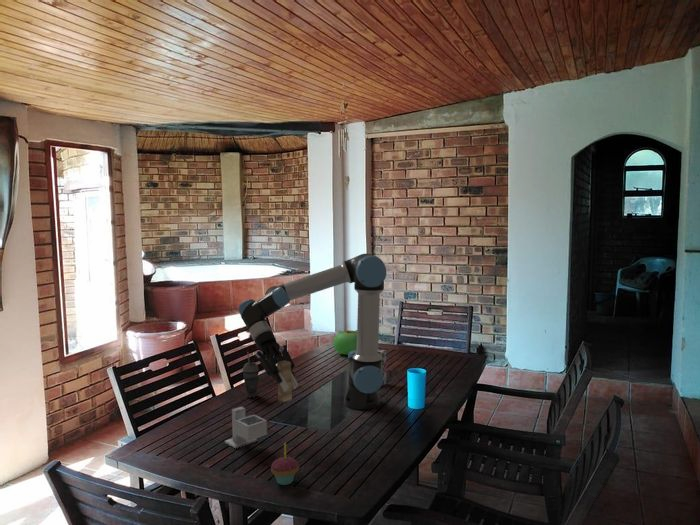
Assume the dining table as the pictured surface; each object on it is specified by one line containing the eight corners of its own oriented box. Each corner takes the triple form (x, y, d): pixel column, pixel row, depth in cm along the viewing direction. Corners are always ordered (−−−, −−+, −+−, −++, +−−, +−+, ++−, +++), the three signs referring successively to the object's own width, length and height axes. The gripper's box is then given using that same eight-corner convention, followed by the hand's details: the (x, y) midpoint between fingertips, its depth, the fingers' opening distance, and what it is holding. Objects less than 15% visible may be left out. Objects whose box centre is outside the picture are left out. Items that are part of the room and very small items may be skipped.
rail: (278, 399, 193) (277, 362, 191) (286, 397, 195) (284, 360, 194) (284, 402, 190) (283, 364, 189) (292, 399, 193) (290, 362, 191)
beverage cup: (255, 399, 232) (255, 354, 230) (240, 398, 233) (239, 354, 231) (262, 393, 239) (261, 350, 237) (246, 392, 240) (245, 349, 239)
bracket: (224, 442, 188) (223, 410, 187) (246, 435, 194) (245, 403, 193) (247, 456, 178) (246, 421, 177) (269, 447, 184) (268, 414, 183)
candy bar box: (386, 383, 253) (386, 349, 251) (383, 386, 248) (383, 352, 247) (364, 380, 257) (364, 347, 255) (361, 383, 252) (361, 350, 251)
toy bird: (331, 357, 299) (330, 331, 297) (336, 349, 315) (336, 325, 314) (362, 358, 296) (362, 333, 294) (366, 351, 312) (366, 326, 311)
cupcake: (272, 475, 165) (271, 437, 164) (299, 473, 166) (299, 436, 164) (270, 489, 156) (269, 450, 155) (299, 487, 157) (298, 448, 156)
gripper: (276, 337, 208) (304, 388, 197) (240, 345, 196) (268, 399, 186) (284, 326, 203) (313, 377, 193) (247, 333, 192) (276, 388, 182)
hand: (291, 388), depth 190 cm, fingers closed on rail, 3 cm apart
